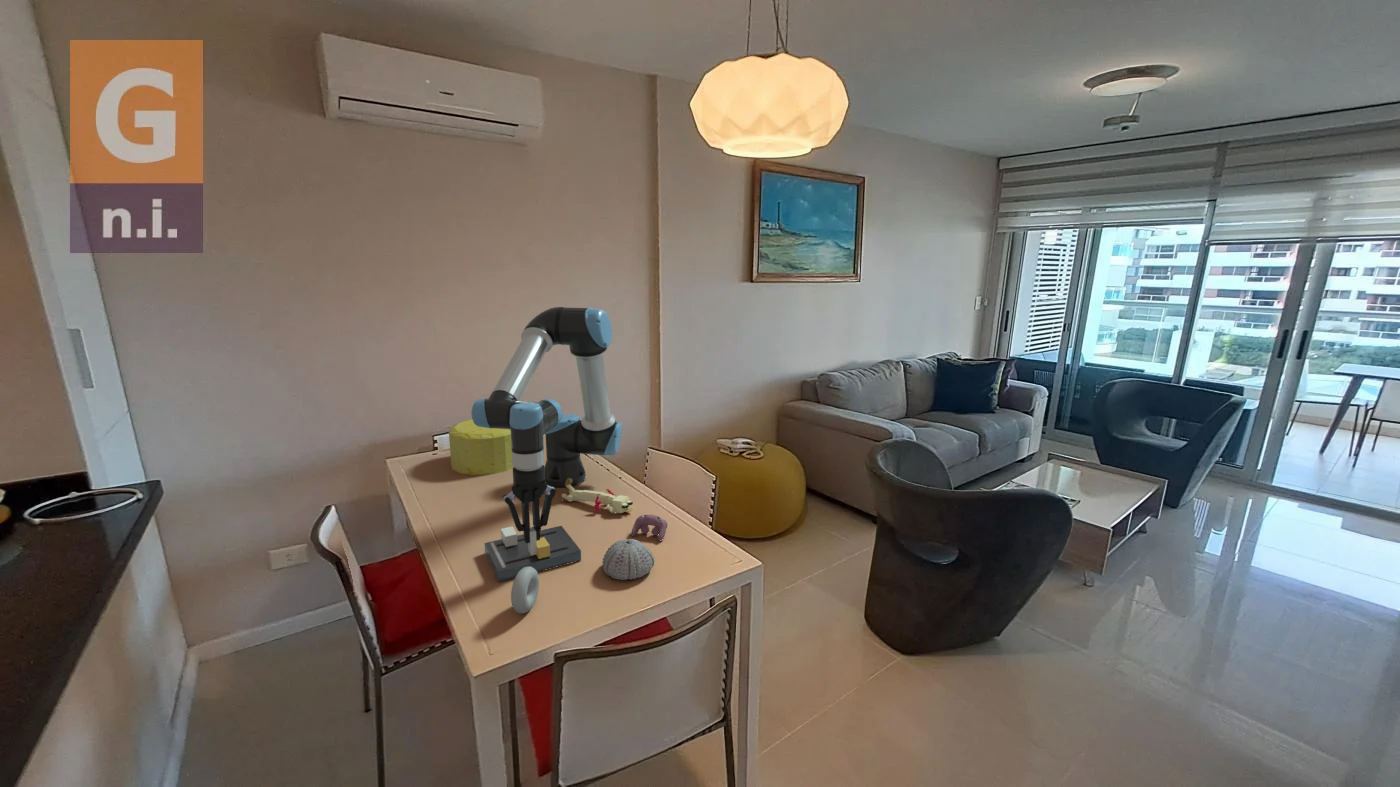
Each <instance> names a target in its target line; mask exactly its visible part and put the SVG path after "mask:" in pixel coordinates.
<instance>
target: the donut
mask: <svg viewBox="0 0 1400 787" xmlns="http://www.w3.org/2000/svg"><path fill="white" fill-rule="evenodd" d="M539 590H540V578H539V572H537V571H536V570H535V569H534V568H532V567H524V568H522V569H521V570H520V571H519V572H518V574H517V575H516V577H515V578H514V579H513V582H512V587H511V591H510V600H511V601H510V602H511V606H512V609H513V610H514V611H515V612H517V613H518V614H526V613H528V612H529V611H530V610H531V609H532V608H533V607H534V606H535V605H534V604H536V601H537V598H538V596H539V595H538V594H539Z"/></svg>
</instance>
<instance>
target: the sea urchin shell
mask: <svg viewBox="0 0 1400 787" xmlns="http://www.w3.org/2000/svg"><path fill="white" fill-rule="evenodd" d="M652 552H653V551H651V550H650V549H649V547H648V546H646V545H645V544H643V543H642V542H641V541H639V540H637V539H635V538H628V539H620V540H617V541H615V542H614V543H612V545H610V547H608V548H607V550H606V552H605V554H604V555H603V558H602V561H601V562H602V565H601V566H602V568H603V571H604V573H605V574H606V575H607V577H610V576H611V577H610V578H613V579H614V580H618V581H619V580H621V581H627V580H630V581H631V580H636V579H639V578H642V577H643V576H645V575H646V574H649V572H650V571H652V568H654V565H655V562H656V561H655V557H654V555H653V553H652Z"/></svg>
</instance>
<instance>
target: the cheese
mask: <svg viewBox="0 0 1400 787" xmlns="http://www.w3.org/2000/svg"><path fill="white" fill-rule="evenodd" d="M448 439H449V440H448V442H449V452H450V454H449V455H450V462H451V463H450V464H451V469H452V470H453V471H454V470H455V471H454V472H456V471H457V472H456V473H458V474H462V475H469V476H470V475H471V476H484V475H495V474H499V473H505V472H508V471H510V470H513V468H514V467H513V465H512V443H511V430H510V429H498V428H492V429H490V428H485V427H479V426H476V425H475V424H474V422H473V420H472V418H471V419H468V420H464V421H461V422H459V423H457V424H454V425H453V426H452V427H451V428H449V429H448Z"/></svg>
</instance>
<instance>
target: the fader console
mask: <svg viewBox="0 0 1400 787" xmlns="http://www.w3.org/2000/svg"><path fill="white" fill-rule="evenodd" d="M543 537H544V538H545V539H546V540H547V542H548V543H549V545H550V556H549V557H545V558H541V559H538V557H537V556H536V555H532V556H531V554H530V553H529V551H528V543H526V542H525V540H524V533H522V534H519V535H518V534H517V543H518V544H517V545H513V546H509V547H506V546H505V545H504V543H503V541H502V539H501V538H500V539H497V540H492V541H488V542H484V554H485V556H486V558H487V560H489V561H488V562H489V565H490V567H491V569H492V571H493V573H494V575H495V578H496V579H497V582H498V583H502V581H503V582H505V580H506V581H509V579H510V580H514V579H515V577H516V575H517V574H518V572H519V571H520V570H521V569H522V568H524V567H532V568H534V569H535V570H536V571H537V573H539V571H540V572H544V571H546V570H545V569H548V570H550V569H549V568H552V569H554V568H553V567H556V566H559V567H561V566H560V565H563V566H565V565H564V564H567V563H571V562H574V563H576V562H575V561H578V560H581V561H582V550H581V549H580V547H579V546H578V545H577V544H576V542H575V541H574V540H573V538H572V537H571V535H569V533H568V532H567V531H566V529H565V528H564V527H563V526H562V525H559V526H554V527H550V528H545V529H541V530H540V538H543ZM578 562H579V561H578ZM571 564H572V563H571ZM567 565H568V564H567ZM556 568H557V567H556ZM543 570H544V571H543ZM513 578H514V579H513Z"/></svg>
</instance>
